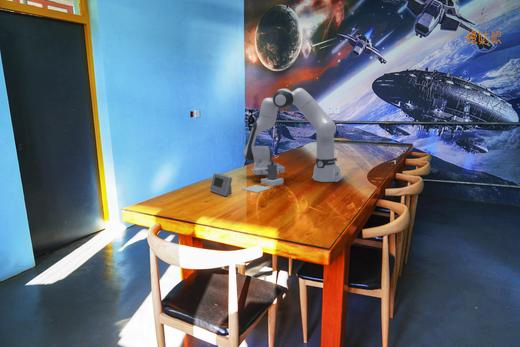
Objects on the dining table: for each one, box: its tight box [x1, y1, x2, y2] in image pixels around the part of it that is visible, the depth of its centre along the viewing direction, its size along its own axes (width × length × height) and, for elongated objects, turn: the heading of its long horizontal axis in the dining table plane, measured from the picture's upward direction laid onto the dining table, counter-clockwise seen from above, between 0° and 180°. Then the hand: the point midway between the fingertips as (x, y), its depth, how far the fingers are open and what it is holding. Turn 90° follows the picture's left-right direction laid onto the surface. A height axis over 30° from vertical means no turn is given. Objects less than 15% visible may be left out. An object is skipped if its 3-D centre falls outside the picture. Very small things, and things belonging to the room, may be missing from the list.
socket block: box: [260, 176, 285, 187], centre depth 220 cm, size 10×10×3 cm
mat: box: [241, 184, 271, 194], centre depth 207 cm, size 12×12×1 cm
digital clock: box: [209, 172, 233, 197], centre depth 198 cm, size 16×9×11 cm, turn 29°
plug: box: [267, 159, 278, 180], centre depth 218 cm, size 4×4×15 cm
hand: (272, 172), depth 217 cm, fingers closed on plug, 5 cm apart
